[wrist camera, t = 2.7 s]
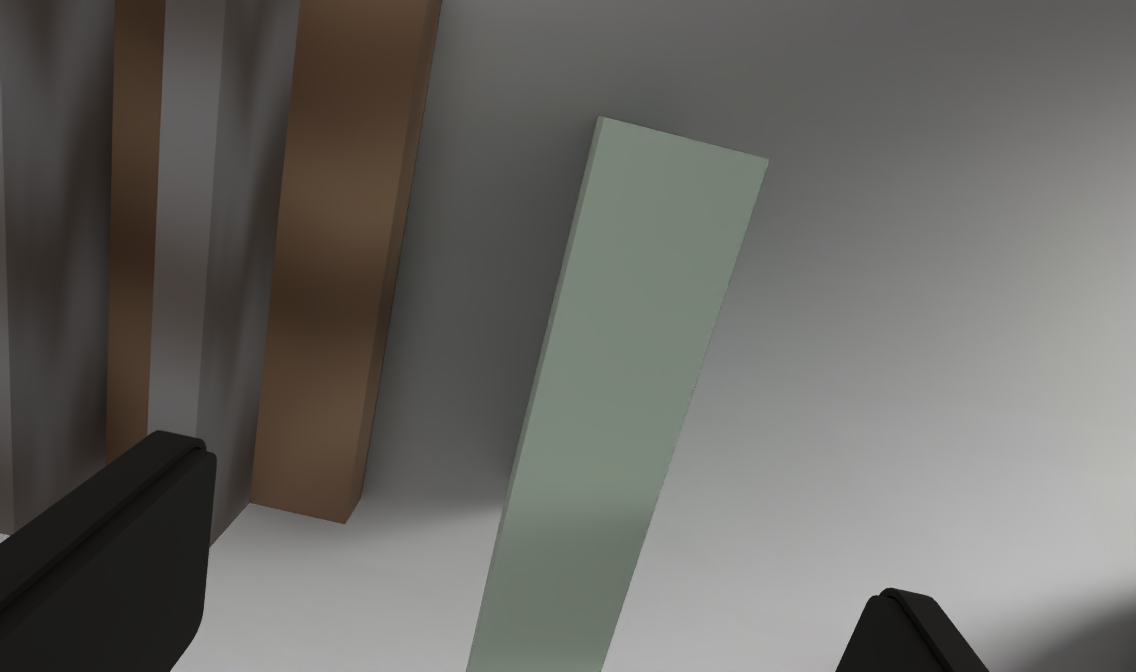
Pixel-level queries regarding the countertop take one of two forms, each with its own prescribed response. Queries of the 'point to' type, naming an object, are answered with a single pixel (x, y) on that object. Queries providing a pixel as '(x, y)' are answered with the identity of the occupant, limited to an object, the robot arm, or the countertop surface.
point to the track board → (202, 238)
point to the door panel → (610, 391)
